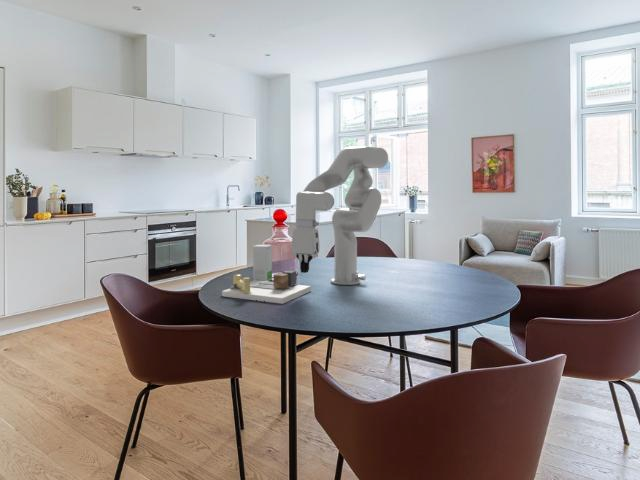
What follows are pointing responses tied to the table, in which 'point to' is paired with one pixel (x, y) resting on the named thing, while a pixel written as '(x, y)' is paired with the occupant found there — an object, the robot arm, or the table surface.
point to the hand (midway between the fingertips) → (304, 272)
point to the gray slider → (291, 277)
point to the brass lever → (242, 283)
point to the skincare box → (262, 263)
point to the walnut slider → (280, 280)
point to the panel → (267, 292)
